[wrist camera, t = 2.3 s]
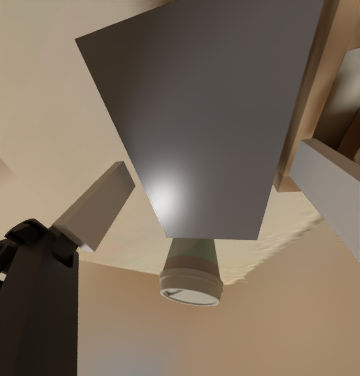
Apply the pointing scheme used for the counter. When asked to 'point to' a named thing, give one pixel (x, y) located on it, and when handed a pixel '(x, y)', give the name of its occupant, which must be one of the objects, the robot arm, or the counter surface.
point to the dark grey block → (205, 104)
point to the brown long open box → (322, 85)
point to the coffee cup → (192, 273)
